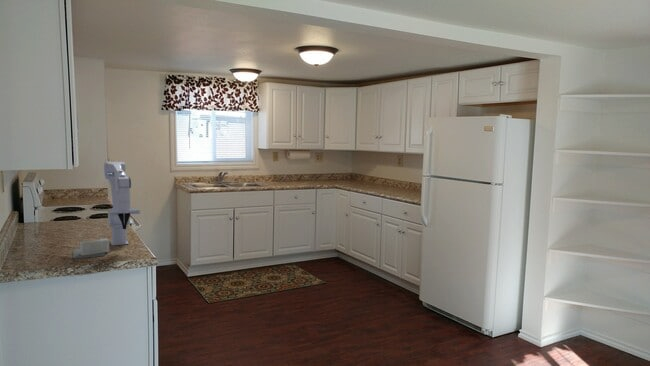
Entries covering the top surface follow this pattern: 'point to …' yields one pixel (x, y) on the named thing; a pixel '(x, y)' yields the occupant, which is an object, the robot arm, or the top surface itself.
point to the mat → (78, 255)
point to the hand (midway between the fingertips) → (124, 228)
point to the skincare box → (94, 247)
